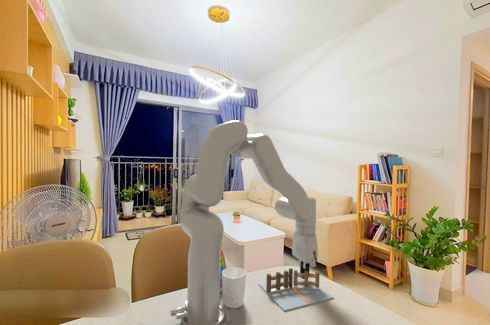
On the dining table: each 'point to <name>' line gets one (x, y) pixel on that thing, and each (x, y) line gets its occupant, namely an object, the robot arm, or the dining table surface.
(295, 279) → the fence fold
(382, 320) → the dining table surface
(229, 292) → the white cup
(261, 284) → the card
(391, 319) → the dining table surface
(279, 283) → the fence fixed
